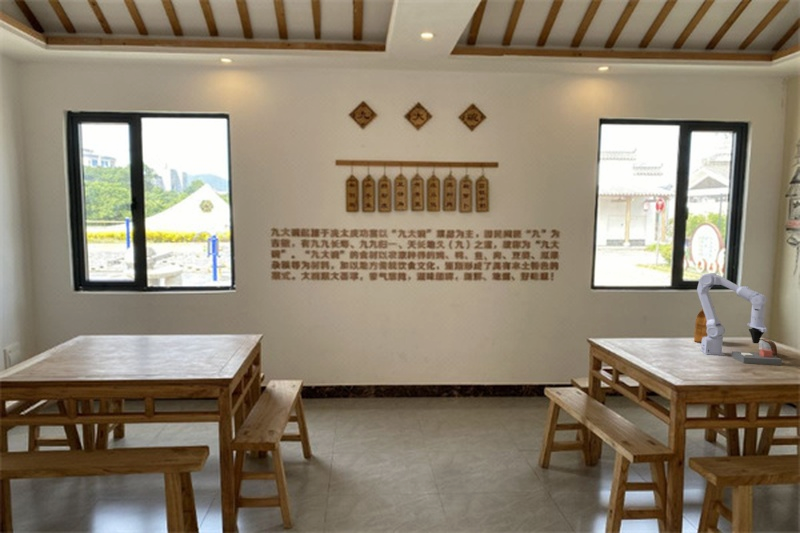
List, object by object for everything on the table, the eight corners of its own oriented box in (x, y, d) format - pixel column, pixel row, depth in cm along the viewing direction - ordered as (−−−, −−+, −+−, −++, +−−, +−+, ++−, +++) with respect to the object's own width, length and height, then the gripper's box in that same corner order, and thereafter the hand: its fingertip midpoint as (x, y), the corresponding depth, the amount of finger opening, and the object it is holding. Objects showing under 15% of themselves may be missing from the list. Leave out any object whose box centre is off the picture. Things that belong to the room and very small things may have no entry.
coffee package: (719, 342, 304) (722, 306, 302) (708, 345, 298) (711, 308, 296) (702, 339, 313) (705, 304, 311) (691, 341, 307) (694, 305, 304)
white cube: (744, 361, 265) (745, 354, 264) (740, 359, 269) (741, 352, 268) (752, 361, 264) (753, 355, 264) (748, 359, 268) (749, 352, 268)
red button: (763, 357, 263) (764, 350, 263) (759, 355, 267) (759, 348, 267) (772, 357, 263) (772, 351, 263) (767, 355, 267) (768, 349, 266)
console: (743, 363, 261) (744, 357, 261) (731, 356, 273) (731, 351, 273) (781, 365, 259) (782, 359, 259) (767, 358, 271) (768, 353, 270)
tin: (776, 359, 271) (778, 343, 270) (770, 358, 272) (771, 343, 271) (762, 351, 286) (764, 337, 285) (756, 351, 286) (758, 336, 285)
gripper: (774, 320, 256) (771, 346, 257) (758, 315, 270) (756, 340, 272) (758, 319, 257) (756, 346, 258) (743, 314, 271) (741, 339, 273)
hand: (755, 343), depth 265 cm, fingers closed
